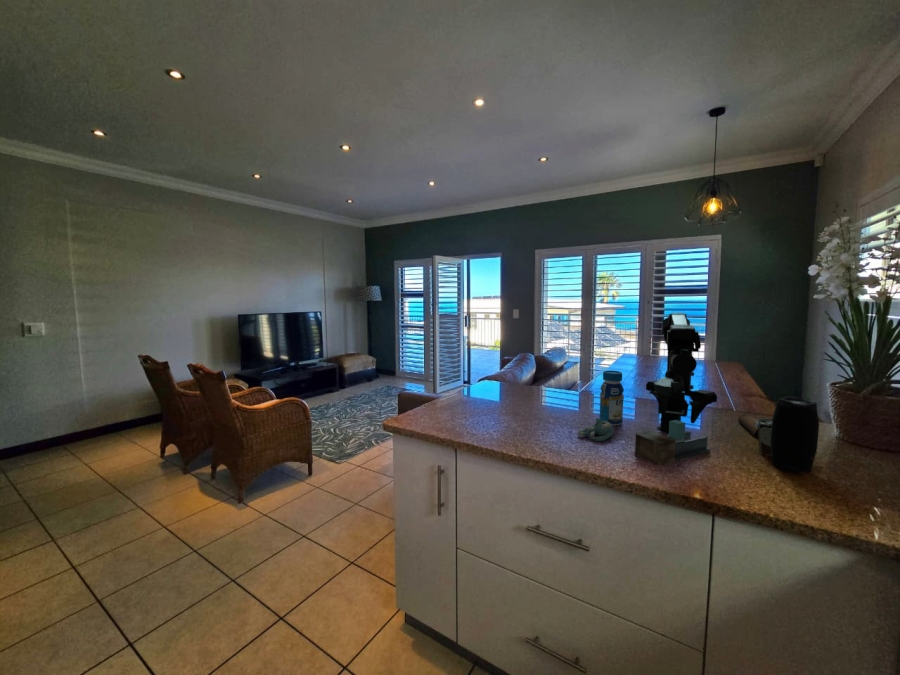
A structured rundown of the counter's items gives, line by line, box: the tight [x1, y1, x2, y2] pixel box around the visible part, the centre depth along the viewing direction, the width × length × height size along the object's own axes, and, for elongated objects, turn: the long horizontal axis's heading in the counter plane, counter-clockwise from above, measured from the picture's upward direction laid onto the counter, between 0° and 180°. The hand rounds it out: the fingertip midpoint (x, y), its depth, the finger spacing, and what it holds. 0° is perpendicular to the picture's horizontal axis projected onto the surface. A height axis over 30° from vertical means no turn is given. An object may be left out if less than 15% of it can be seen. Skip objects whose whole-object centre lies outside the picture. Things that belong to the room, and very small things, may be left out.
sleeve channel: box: [666, 430, 711, 462], centre depth 112 cm, size 16×8×4 cm, turn 113°
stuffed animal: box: [577, 417, 615, 442], centre depth 125 cm, size 11×7×12 cm
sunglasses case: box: [737, 414, 759, 439], centre depth 129 cm, size 18×7×7 cm, turn 156°
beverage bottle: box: [599, 370, 625, 427], centre depth 139 cm, size 8×8×20 cm
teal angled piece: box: [668, 420, 686, 443], centre depth 109 cm, size 13×4×8 cm, turn 113°
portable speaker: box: [771, 396, 820, 475], centre depth 99 cm, size 9×9×20 cm
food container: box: [755, 417, 773, 456], centre depth 111 cm, size 12×6×10 cm, turn 71°
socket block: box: [634, 430, 676, 466], centre depth 107 cm, size 7×8×7 cm
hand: (677, 418), depth 110 cm, fingers open, 9 cm apart
